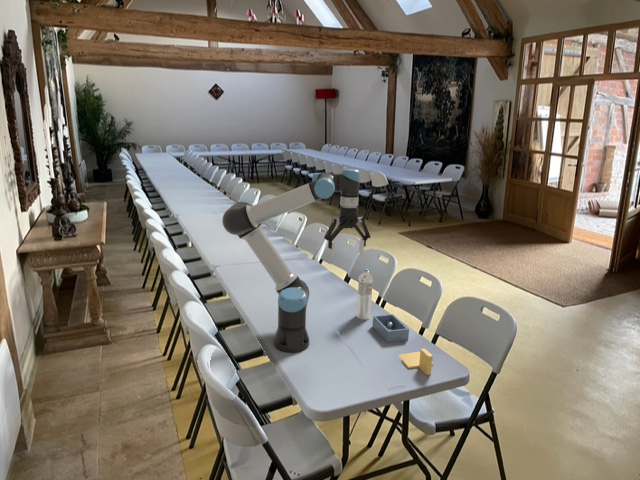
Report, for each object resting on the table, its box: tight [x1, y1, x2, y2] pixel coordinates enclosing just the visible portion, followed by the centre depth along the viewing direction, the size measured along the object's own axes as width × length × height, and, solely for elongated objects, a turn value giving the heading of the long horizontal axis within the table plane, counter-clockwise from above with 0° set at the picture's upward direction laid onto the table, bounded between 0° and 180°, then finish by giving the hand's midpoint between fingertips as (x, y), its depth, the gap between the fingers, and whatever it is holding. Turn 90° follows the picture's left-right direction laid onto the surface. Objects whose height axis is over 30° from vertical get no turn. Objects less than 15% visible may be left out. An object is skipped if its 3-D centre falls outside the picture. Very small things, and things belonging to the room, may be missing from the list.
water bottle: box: [356, 268, 374, 321], centre depth 225 cm, size 7×7×25 cm
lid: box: [397, 348, 434, 376], centre depth 190 cm, size 11×23×8 cm, turn 17°
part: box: [387, 321, 393, 330], centre depth 216 cm, size 3×3×3 cm
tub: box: [372, 313, 410, 344], centre depth 212 cm, size 10×16×6 cm, turn 17°
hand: (346, 254), depth 203 cm, fingers open, 13 cm apart
